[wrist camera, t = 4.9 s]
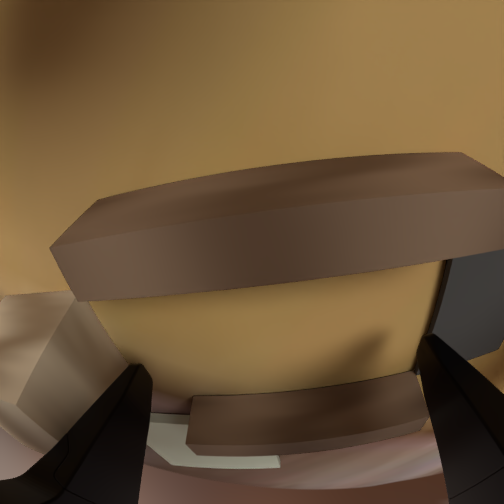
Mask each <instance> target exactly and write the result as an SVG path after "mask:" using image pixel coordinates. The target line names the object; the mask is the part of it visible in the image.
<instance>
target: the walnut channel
mask: <svg viewBox="0 0 504 504" xmlns="http://www.w3.org/2000/svg"><path fill="white" fill-rule="evenodd" d="M501 249H504V177H503V176H501V175H499V174H498V173H496V172H495V171H493V170H491V169H490V168H488V167H486V166H485V165H483V164H481V163H480V162H478V161H476V160H474V159H473V158H471V157H469V156H467V155H465V154H463V153H462V152H445V153H407V154H386V155H370V156H357V157H345V158H334V159H324V160H314V161H305V162H296V163H288V164H281V165H273V166H266V167H259V168H252V169H245V170H239V171H233V172H227V173H221V174H215V175H209V176H204V177H198V178H193V179H188V180H183V181H178V182H173V183H168V184H163V185H158V186H154V187H149V188H145V189H140V190H136V191H132V192H127V193H123V194H119V195H115V196H111V197H107V198H103V199H99V200H97V201H96V202H95V203H94V204H93V205H92V206H91V207H90V208H88V209H87V210H86V211H85V212H84V213H83V214H82V215H81V216H80V217H79V218H78V219H77V220H76V221H75V222H74V223H73V224H72V225H71V226H70V227H69V228H68V229H67V230H66V231H65V232H64V233H63V234H62V235H61V236H60V237H59V238H58V239H57V240H56V241H55V242H54V243H53V244H52V246H51V247H50V250H51V252H52V254H53V256H54V258H55V260H56V262H57V264H58V266H59V268H60V270H61V272H62V274H63V276H64V278H65V280H66V281H67V283H68V285H69V287H70V289H71V290H72V292H73V294H74V296H75V298H76V299H77V301H78V302H86V301H101V300H115V299H129V298H141V297H153V296H165V295H176V294H187V293H198V292H208V291H218V290H227V289H237V288H246V287H255V286H264V285H272V284H281V283H289V282H297V281H305V280H313V279H320V278H328V277H335V276H343V275H350V274H357V273H364V272H371V271H377V270H384V269H391V268H397V267H404V266H410V265H416V264H422V263H429V262H435V261H440V260H446V259H452V258H458V257H463V256H469V255H475V254H480V253H485V252H491V251H496V250H501ZM429 417H430V416H429V412H428V409H427V406H426V403H425V400H424V397H423V394H422V391H421V388H420V385H419V382H418V379H417V377H416V374H415V371H414V370H413V371H409V372H405V373H400V374H396V375H391V376H387V377H382V378H377V379H372V380H367V381H361V382H356V383H350V384H344V385H337V386H331V387H324V388H316V389H308V390H299V391H290V392H279V393H266V394H251V395H229V396H193V400H192V406H191V412H190V418H189V424H188V430H187V436H186V443H185V444H186V445H187V446H188V447H189V448H190V449H191V450H192V451H193V452H194V453H195V454H196V455H198V456H224V457H249V456H275V455H289V454H301V453H310V452H319V451H326V450H333V449H340V448H346V447H352V446H357V445H363V444H368V443H372V442H377V441H382V440H386V439H390V438H394V437H398V436H402V435H406V434H409V433H413V432H416V431H420V430H421V428H422V427H423V425H424V424H425V422H426V421H427V420H428V418H429Z"/></svg>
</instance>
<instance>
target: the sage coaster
mask: <svg viewBox="0 0 504 504" xmlns="http://www.w3.org/2000/svg"><path fill="white" fill-rule="evenodd" d="M189 418H190V415H178V414H160V413H151V415H150V425H149V431H148V437H147V443H146V444H147V445H148V446H149V447H151V448H152V449H153V450H154V451H155V452H157V453H158V454H159V455H160V456H161V457H163V458H164V459H165V460H166V461H168V462H169V463H170V464H171V465H177V466H188V467H202V468H224V469H259V468H280V458H279V455H275V456H249V457H224V456H198V455H196V454H195V453H194V452H193V451H192V450H191V449H190V448H189V447H188V446H187V445H186V444H185V443H186V436H187V430H188V424H189Z"/></svg>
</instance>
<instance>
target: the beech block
mask: <svg viewBox="0 0 504 504" xmlns="http://www.w3.org/2000/svg"><path fill="white" fill-rule="evenodd" d="M128 366H129V365H128V363H127V362H126V361H125V359H124V358H123V356H122V355H121V353H120V352H119V350H118V349H117V347H116V346H115V344H114V343H113V341H112V340H111V338H110V337H109V335H108V333H107V332H106V330H105V329H104V327H103V326H102V324H101V322H100V321H99V319H98V317H97V316H96V314H95V312H94V311H93V309H92V307H91V306H90V304H89V302H88V301H86V302H78V301H77V299H76V298H75V296H74V294H73V292H72V290H66V291H55V292H43V293H31V294H18V295H6V296H5V297H4V298H3V299H2V301H1V302H0V427H1V428H3V429H4V430H5V431H6V432H7V433H9V434H10V435H11V436H12V437H14V438H15V439H16V440H18V441H19V442H20V443H22V444H23V445H24V446H26V447H28V448H30V449H33V450H35V451H37V452H40V453H42V454H46V453H47V452H49V451H50V450H51V449H52V448H53V447H54V446H55V445H56V444H57V443H58V441H59V440H60V439H61V438H62V437H63V436H64V435H65V434H66V433H68V431H69V430H70V428H71V427H72V426H73V425H74V424H75V423H76V422H77V421H78V420H79V419H80V418H81V416H82V415H83V414H84V413H85V412H86V411H87V410H88V409H89V408H90V407H91V406H92V404H93V403H94V402H95V401H96V400H97V399H98V398H99V397H100V396H101V395H102V394H103V392H104V391H105V390H106V389H107V388H108V387H109V386H110V385H111V384H112V383H113V382H114V381H115V380H116V378H117V377H118V376H119V375H120V374H121V373H122V372H123V371H124V370H125V369H126V368H127V367H128Z"/></svg>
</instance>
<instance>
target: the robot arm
mask: <svg viewBox="0 0 504 504" xmlns="http://www.w3.org/2000/svg"><path fill="white" fill-rule="evenodd" d="M417 362H418V366H419V371H420V376H421V381H422V387H423V392H424V397H425V401H426V405H427V408H428V412H429V415H430V419H431V422H432V426H433V430H434V434H435V438H436V442H437V446H438V450H439V454H440V458H441V463H442V468H443V472H444V477H445V482H446V487H447V493H448V499H449V504H504V394H503V393H502V392H501V391H500V390H499V389H498V388H496V387H495V386H494V385H493V384H492V383H491V382H490V381H489V380H488V379H487V378H485V377H484V376H483V375H482V374H481V373H480V372H479V371H478V370H477V369H475V368H474V367H473V366H472V365H471V364H470V363H469V362H467V361H466V360H465V359H464V358H463V357H462V356H461V355H459V354H458V353H457V352H456V351H455V350H454V349H452V348H451V347H450V346H449V345H448V344H447V343H445V342H444V341H443V340H442V339H441V338H440V337H438V336H437V335H436V334H434V333H431V334H427V335H423V336H422V338H421V340H420V343H419V346H418V349H417ZM152 386H153V381H152V378H151V376H150V374H149V373H148V372H147V370H146V369H145V367H144V366H143V365H142V364H136V363H132V364H130V365H129V366H128V367H127V368H126V369H125V370H124V371H123V372H122V373H121V374H120V375H119V376H118V377H117V378H116V380H115V381H114V382H113V383H112V384H111V385H110V386H109V387H108V388H107V389H106V390H105V391H104V392H103V394H102V395H101V396H100V397H99V398H98V399H97V400H96V401H95V402H94V403H93V404H92V406H91V407H90V408H89V409H88V410H87V411H86V412H85V413H84V414H83V415H82V416H81V418H80V419H79V420H78V421H77V422H76V423H75V424H74V425H73V426H72V427H71V428H70V430H69V431H68V433H66V434H65V435H64V436H63V437H62V438H61V439H60V440H59V441H58V443H57V444H56V445H55V446H54V447H53V448H52V449H51V450H50V451H49V452H47V453H46V454H45V455H44V456H43V457H42V458H41V459H40V460H39V461H38V462H37V463H35V464H34V465H33V466H32V467H31V468H30V469H29V470H27V471H26V472H25V473H24V474H22V475H21V476H18V477H16V478H13V479H7V480H0V504H138V499H139V491H140V484H141V476H142V469H143V462H144V456H145V449H146V443H147V437H148V431H149V425H150V415H151V399H152Z"/></svg>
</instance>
